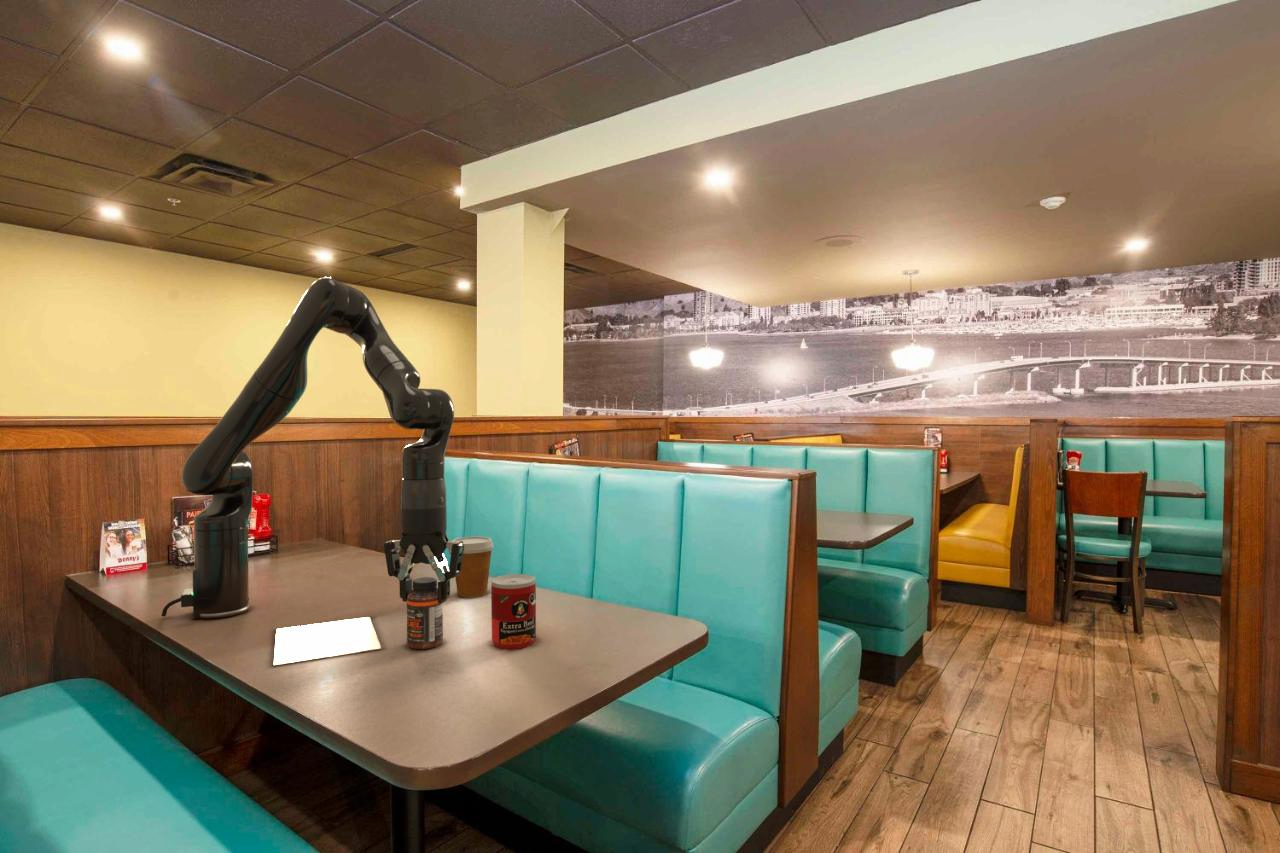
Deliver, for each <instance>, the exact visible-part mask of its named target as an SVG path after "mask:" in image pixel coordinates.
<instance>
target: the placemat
mask: <svg viewBox="0 0 1280 853" xmlns="http://www.w3.org/2000/svg"><path fill="white" fill-rule="evenodd" d="M274 643H275V644H274V655H273V656H274V657H273V667H277V666H284V665H289V664H290V665H291V664H296V663H303V662H308V661H309V662H310V661H317V660H321V659H322V660H323V659H330V658H335V657H341V656H349V655H354V654H362V653H366V652H374V651H379V650H382V646H381V644H380V641H379V638H378V636H377V634H376V631H375V628H374V625H373V622H372V620H371V617H370V616H366V617H359V618H357V617H356V618H351V619H343V620H335V621H328V622H322V623H320V622H319V623H313V624H307V625H306V624H305V625H301V626H300V625H297V626H291V627H290V626H289V627H283V628H277V629H276V633H275V642H274Z"/></svg>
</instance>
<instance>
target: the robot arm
mask: <svg viewBox="0 0 1280 853" xmlns="http://www.w3.org/2000/svg"><path fill="white" fill-rule="evenodd" d="M324 328H325V329H327V330H330V331H333V332H335V333H338V334H341V335H345V336H347V337H348V338H350V339H351V340H353V341H354V342H355V343H356V344H357V345H358V346H359V347H360V348H361V350H362V355H361V357H362V364H363V366H364V369H365V370H366V372H367V374H368V375H369V377H370V378H371V380H372V381H373V382H374V383H375V385H376V386H377V387H378V388H379V390H380V391H381V392H382V396H383V398H384V401H385V404H386V407H387V411H388V413H389V417H390V419H391V420H392V421H393V422H394V424H396V425H397V426H399V427H400V428H402V429H404V430H411V431H413V430H423V431H422V433H421V436H420V439H419V440H418V441H416V442H414V443H410V444H408V445H405V447H403V449H402V451H401V486H400V500H399V503H400V531H401V537H400V539H398V540H397V539H391V540H388V541H385V542H384V544H383V549H384V555H385V562H386V569H387V574H388V576H389V577H395V578H397V580H398V581H399V598H400V599H402V600H401V601H402V602H403V603H404V602H405V603H407V596H408V594H409V593H410V592H412V590H413V577H411V576H412V574H413V571H414V569H415V567H416V566H417V565H418V564H424V565H430V567H431V569H432V571H434V572H435V574H436V577H437V580H438V581H437V588H438V603H443V604H444V603H445V602H447V601H448V599H449V598H450V596H451V580H452V579H454V578H455V577H456V576H457V575H459V574H460V573H461V567H462V560H463V552H464V542H463V541H459V542H453V540H449V538H448V536H447V528H448V526H447V524H448V523H447V519H448V518H447V516H448V515H447V514H448V513H447V512H448V511H447V486H446V485H447V484H446V478H445V477H446V472H445V471H446V470H445V469H446V467H445V453H446V450H447V447H448V443H449V438H450V436H451V431H452V427H453V423H454V419H455V406H454V402H453V399H452V398H451V396H450V395H449V394H448V393H447V392H446V391H445V390H444V389H440V388H439V389H438V388H420V385H421V376H420V373H419V371H418V369H416V367H415V366H414V365H413V363H411V361H410V360H409V359H408V357H407V356H406V355H405V354H404V353H403V352H402V350H401V349H400V348H399V346H397V344H396V343H395V342H394V340H393V339H392V338H391V336H390V335H389V333H388V331H387V329H386V328H385V325H384V323H383V322H382V321H381V319H380V317H379V315H378V313H377V311H376V308H375V307H374V305H373V303H372V301H370V299H369V297H367V295H366V294H365V293H364V292H362V291H360V290H358V289H357V288H355V287H353V286H350V285H349V284H346V283H344V282H342V281H339V280H337V279H335V278H332V277H327V276H324V277H320V278H318V279H316V280H315V281H314V282H313V283H312V284H311V285H310V286H309V287H308V289H307V290H306V291H305V292H304V294H303V295H302V297H301V299H300V301H299V303H298V304H297V306H296V308H295V309H294V311H293V313H292V315H291V317H290V318H289V320H288V322H287V324H286V326H285V328H284V329H283V331H282V332H281V334H280V335H279V337H278V339H277V341H276V342H275V343H274V345H273V346H272V348H271V349H270V351H269V352H268V354H267V355H266V357H265V358H264V359H263V361H262V362H261V363H260V364H259V366H258V367H257V368H256V369H255V370H254V372H253V374H252V375H251V376H250V378H249V379H248V381H247V382H246V384H245V385H244V386H243V388H242V390H241V391H240V392H239V394H238V395H237V397H236V399H234V401H233V402H232V404H230V406H229V407H228V409H227V411H225V413H224V415H223V416H222V417H221V419H220V420H219V421H218V423H217V424H216V425H215V426H214V427H213V429H212V430H211V431H210V432H209V433H208V434H207V435H206V436H205V437H204V438H203V439H202V441H201V442H200V443H199V444H198V445H197V446H196V447H195V448H194V449H193V451H192V452H191V453H190V454H189V455H188V456H187V459H186V460H185V462H184V464H183V467H182V471H181V481H182V484H183V486H184V489H185V490H186V491H188V492H189V493H190V494H193V495H195V496H207V497H208V496H211V500H210V502H209V503H208V505H207V506H206V507H205V508H204V509H202V510H201V511H200V512H198V513H197V514H196V515H195V516H194V518H193V558H194V559H193V560H194V562H193V563H194V565H193V566H194V567H193V570H192V588H184V590H183V592H182V593H181V595H180V597H178V598H175V599H173V600H171V601H169V602H167V603H166V604H165V605H164V607H163V609H162V612H161V617H166V616H167V613H168V610H169V609H170V607H171V606H173V605H175V604H178V603H180V608H188V607H193V608H192V609H193V610H192V619H194V620H197V619H205V620H206V619H208V620H209V619H219V618H220V619H222V618H228V617H234V616H237V615H240V614H243V613H245V612H247V611H249V610H250V597H249V596H250V592H249V589H250V588H249V583H250V582H249V525H248V524H249V523H248V522H249V517H250V514H251V512H252V508H253V494H254V492H253V491H254V468H253V463H252V460H251V457H250V456H249V454H247V452H246V451H244V450H245V449H246V448H247V447H248V446H249V445H250V444H251V443H252V442H254V441H255V440H256V439H258V438H260V437H261V436H262V435H264V434H266V433H267V432H268V431H270V430H271V429H273V428H274V427H276V426H277V425H278V424H279V423H280V422H283V420H284V419H286V417H287V416H288V415H289V414H290V413H291V412H292V410H293V409H294V407H295V406H296V405H297V404H298V402H299V401H300V399H301V398H302V396H303V395H304V393H305V392H306V390H307V386H308V373H309V372H308V355H309V350H310V347H311V345H312V344H313V342H314V340H315V339H316V337H317V335H318V334H319V333H320V332H321V330H322V329H324ZM446 549H448V554H449V555H450V559H449V566H448V560H447V558H446V557H445V554H444V553H445V551H446ZM401 550H402V551H403V553H404V554H405V556H404V557H403V560H402V563H401V557H400V552H401Z"/></svg>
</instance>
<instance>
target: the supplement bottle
mask: <svg viewBox="0 0 1280 853" xmlns="http://www.w3.org/2000/svg"><path fill="white" fill-rule="evenodd" d="M443 628H444V603H438V578H436V577H434V576H433V577H432V576H423V577H422V576H421V577H417V578H414V579H412V592H410V593H409V594H408V596H407V602H406V644H407V646H408V647H409V648H410V649H411V648H412V649H414V650H427V649H431V648H435V647H437V646H440V645H441V644H442V643H443V639H444V638H443V637H444V629H443Z"/></svg>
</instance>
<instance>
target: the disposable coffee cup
mask: <svg viewBox="0 0 1280 853" xmlns="http://www.w3.org/2000/svg"><path fill="white" fill-rule="evenodd" d="M452 541H453V542H459V541H463V542H464V552H463V560H462V567H461V573H460V574H459V575H457V576H456V577H454V578H455V586H456V592H457V596H458V597H459V598H460V597H461V598H469V599H470V598H479V597H482V596H485V595H486V594H487V592H488V584H489V576H490V569H491V560H492V550H494V549H493V548H494V546H495V544H494V543H493V541H492V537H491V538H490V537H488V536H487V537H486V536H464V537H459V538H454V539H452Z"/></svg>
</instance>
